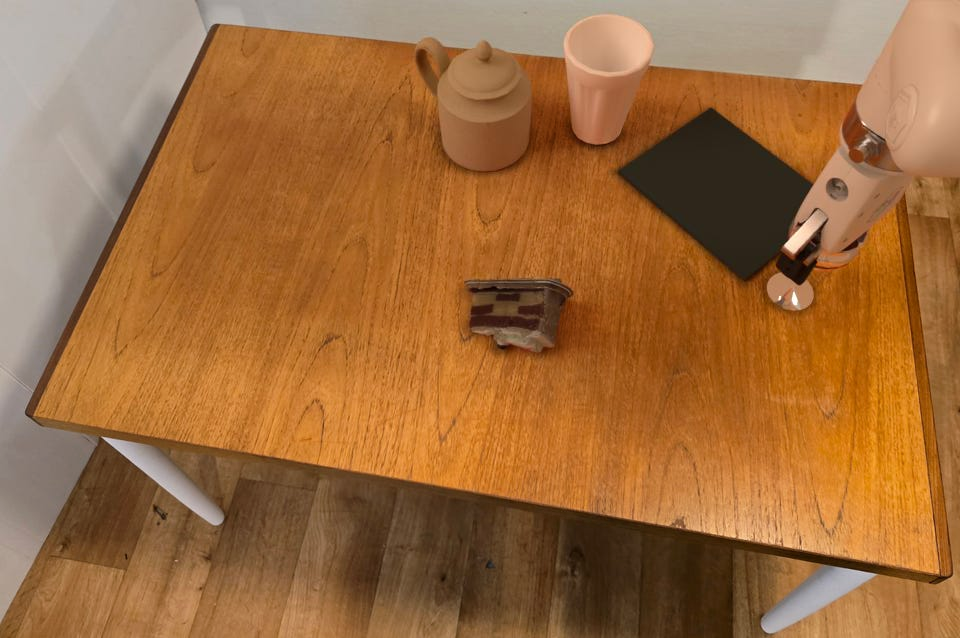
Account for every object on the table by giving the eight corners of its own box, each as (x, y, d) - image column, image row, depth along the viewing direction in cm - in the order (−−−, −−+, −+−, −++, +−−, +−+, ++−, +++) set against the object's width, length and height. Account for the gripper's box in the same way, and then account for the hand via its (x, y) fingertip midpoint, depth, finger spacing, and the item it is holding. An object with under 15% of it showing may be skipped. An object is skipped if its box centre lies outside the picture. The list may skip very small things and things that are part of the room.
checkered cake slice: (445, 342, 79) (521, 337, 70) (456, 279, 81) (531, 266, 72) (511, 362, 85) (589, 360, 76) (520, 303, 87) (598, 293, 77)
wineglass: (835, 299, 80) (885, 233, 70) (788, 328, 79) (831, 265, 68) (792, 255, 83) (833, 185, 73) (745, 282, 82) (780, 215, 71)
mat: (838, 207, 86) (840, 204, 86) (744, 281, 82) (745, 278, 81) (709, 110, 94) (710, 107, 94) (617, 173, 90) (618, 169, 89)
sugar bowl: (402, 161, 92) (385, 65, 78) (424, 97, 97) (411, -3, 84) (521, 178, 90) (524, 83, 77) (537, 112, 95) (542, 12, 82)
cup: (594, 171, 90) (607, 89, 79) (540, 124, 94) (544, 40, 82) (653, 131, 93) (674, 46, 81) (598, 87, 97) (610, 1, 85)
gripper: (864, 213, 55) (785, 328, 71) (1000, 103, 60) (898, 233, 76) (785, 154, 58) (726, 276, 74) (921, 54, 63) (838, 188, 79)
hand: (814, 253), depth 75 cm, fingers closed on wineglass, 6 cm apart
